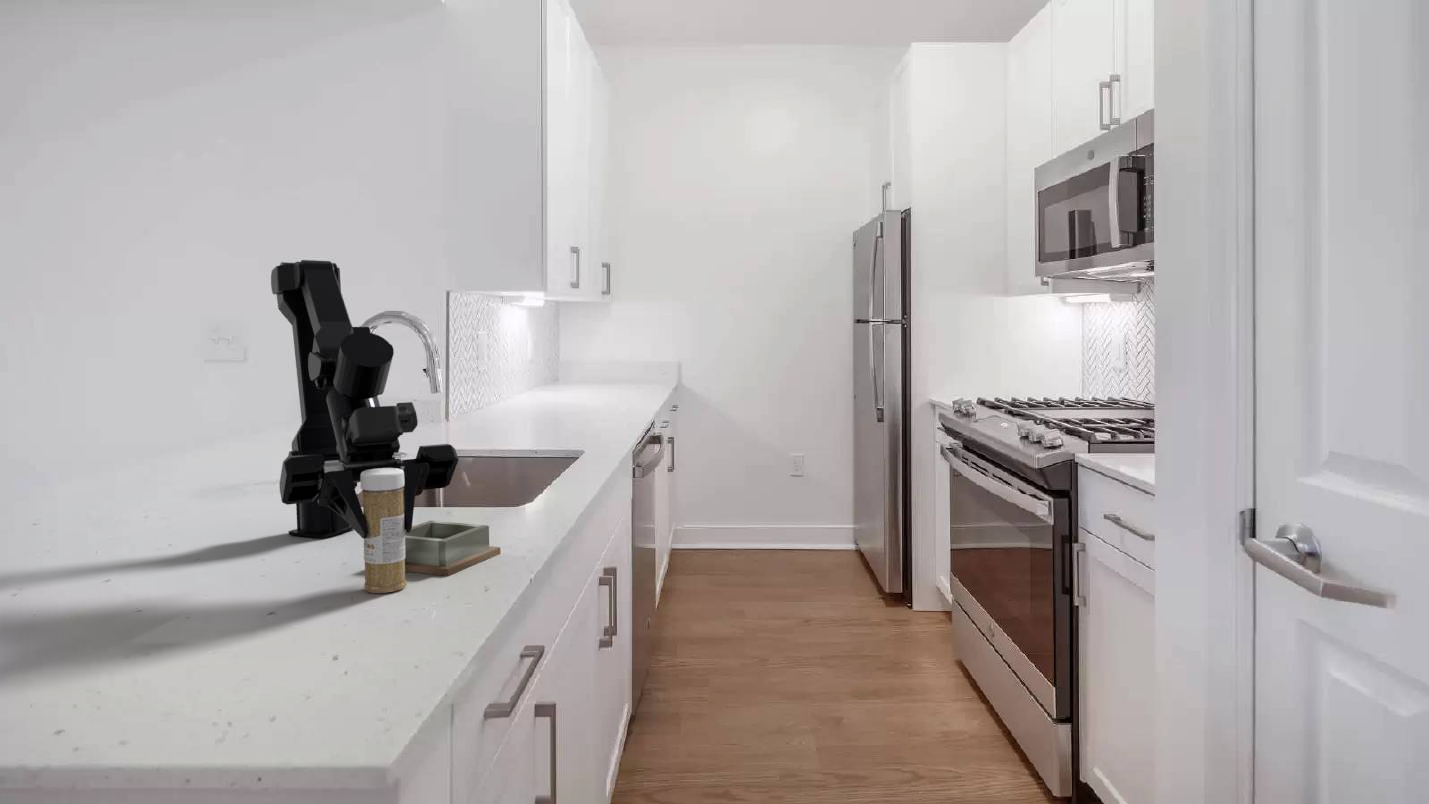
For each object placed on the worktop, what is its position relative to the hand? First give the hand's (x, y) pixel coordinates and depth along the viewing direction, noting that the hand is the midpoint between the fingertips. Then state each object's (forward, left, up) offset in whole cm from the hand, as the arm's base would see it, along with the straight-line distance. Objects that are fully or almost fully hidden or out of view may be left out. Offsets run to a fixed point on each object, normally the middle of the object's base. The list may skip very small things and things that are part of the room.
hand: (387, 533), depth 96 cm
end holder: (-3, +13, -7) cm, 15 cm away
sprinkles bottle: (-1, +1, -7) cm, 7 cm away
